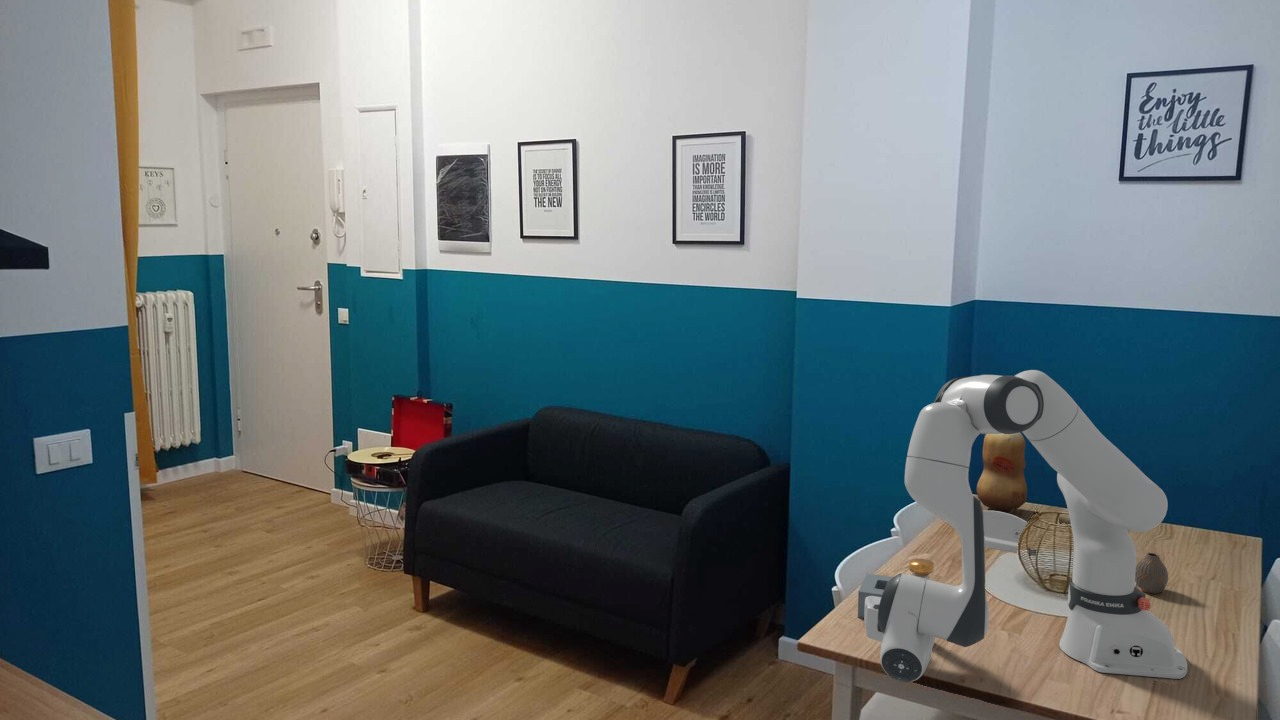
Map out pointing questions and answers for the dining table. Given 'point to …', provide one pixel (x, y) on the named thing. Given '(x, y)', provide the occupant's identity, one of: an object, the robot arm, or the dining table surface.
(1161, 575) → the vase
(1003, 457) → the butternut squash
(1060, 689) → the dining table surface
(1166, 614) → the dining table surface
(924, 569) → the lynch pin
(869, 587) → the hitch block
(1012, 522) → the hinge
